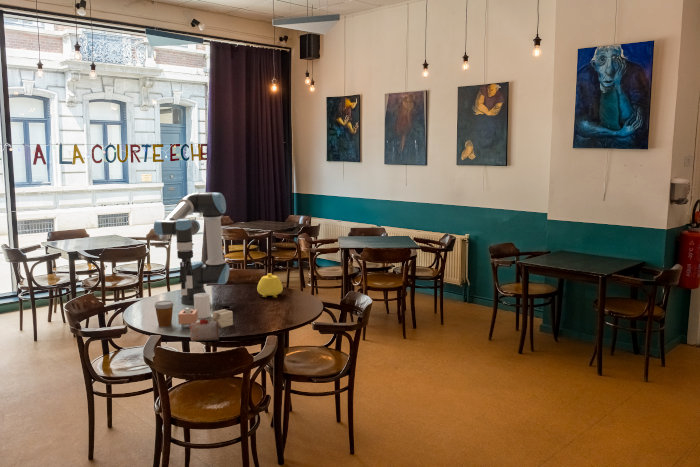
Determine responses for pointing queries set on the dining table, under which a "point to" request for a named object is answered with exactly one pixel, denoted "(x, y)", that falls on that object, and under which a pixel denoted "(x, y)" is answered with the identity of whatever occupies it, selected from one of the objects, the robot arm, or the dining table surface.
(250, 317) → the dining table surface
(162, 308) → the disposable coffee cup
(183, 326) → the hub
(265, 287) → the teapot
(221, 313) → the pedestal
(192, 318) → the collar
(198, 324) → the food item
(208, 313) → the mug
